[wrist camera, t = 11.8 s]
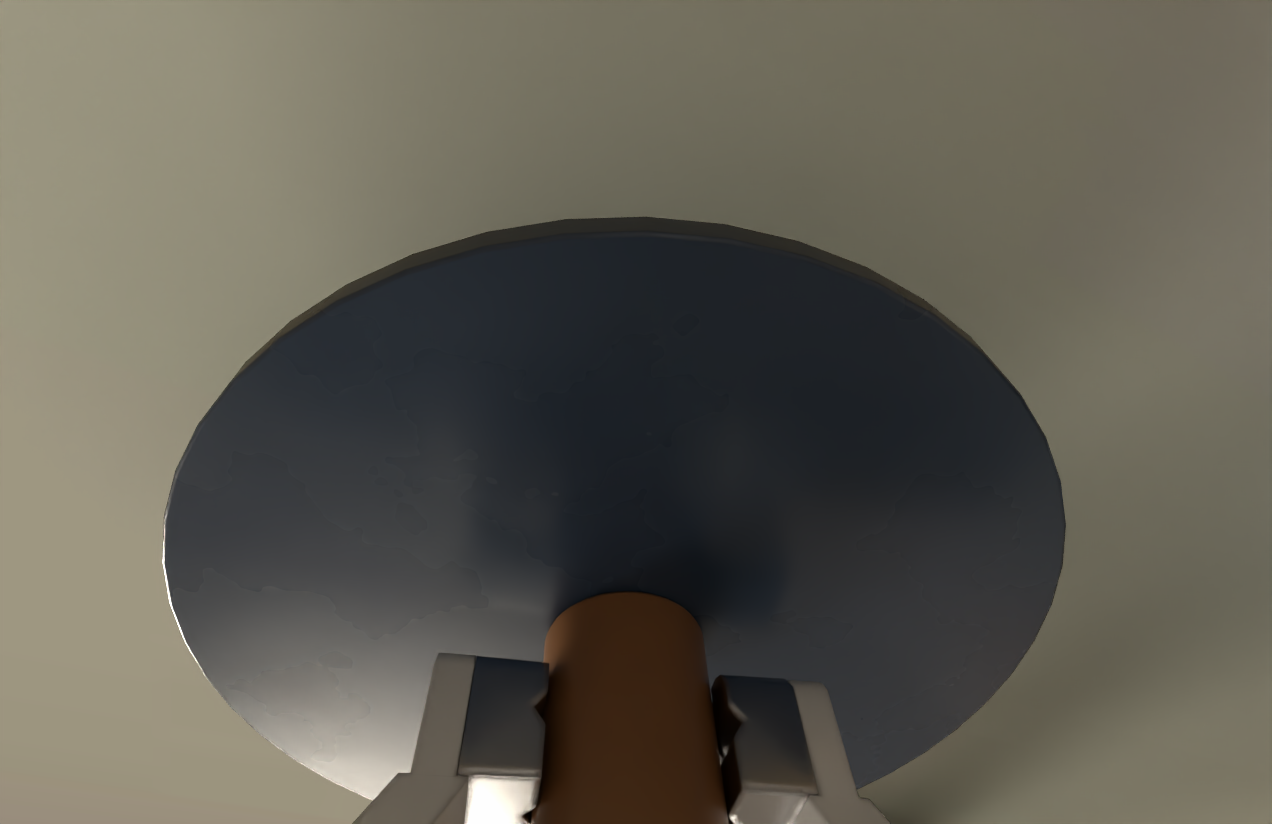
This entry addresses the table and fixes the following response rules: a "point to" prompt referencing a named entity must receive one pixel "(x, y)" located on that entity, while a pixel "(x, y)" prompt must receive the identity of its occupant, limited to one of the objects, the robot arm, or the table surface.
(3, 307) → the table surface
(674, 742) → the lid
